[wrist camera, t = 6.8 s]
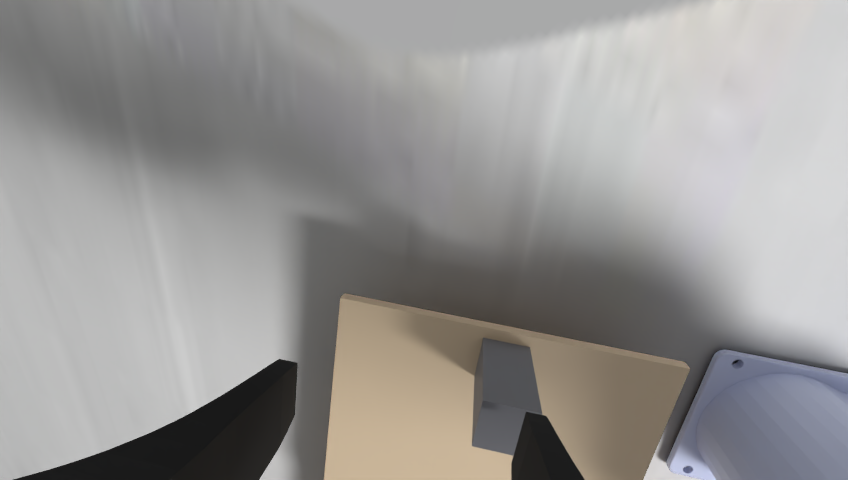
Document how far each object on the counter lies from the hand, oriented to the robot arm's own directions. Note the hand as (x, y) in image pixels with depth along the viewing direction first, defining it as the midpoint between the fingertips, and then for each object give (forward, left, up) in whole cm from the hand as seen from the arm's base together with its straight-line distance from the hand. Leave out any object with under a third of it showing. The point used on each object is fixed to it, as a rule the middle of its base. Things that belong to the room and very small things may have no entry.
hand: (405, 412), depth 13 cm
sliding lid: (-3, +8, -6) cm, 10 cm away
